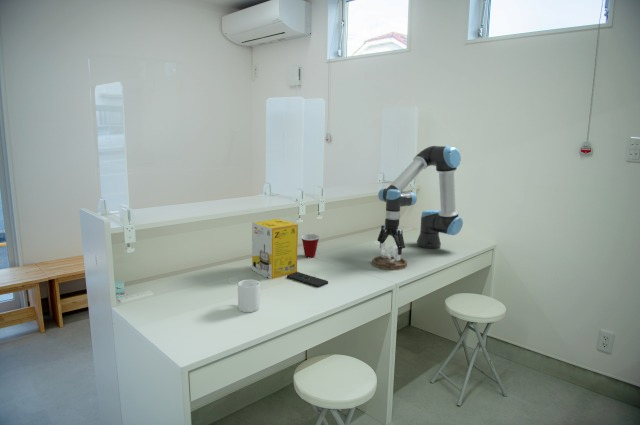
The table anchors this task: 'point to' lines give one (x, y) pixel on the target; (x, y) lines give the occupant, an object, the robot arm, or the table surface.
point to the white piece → (389, 253)
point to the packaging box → (274, 248)
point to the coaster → (389, 263)
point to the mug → (249, 295)
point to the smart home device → (307, 279)
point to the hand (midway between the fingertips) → (390, 257)
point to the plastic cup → (310, 244)
